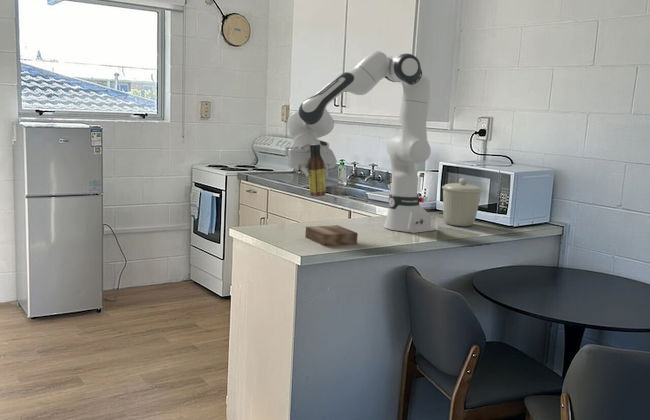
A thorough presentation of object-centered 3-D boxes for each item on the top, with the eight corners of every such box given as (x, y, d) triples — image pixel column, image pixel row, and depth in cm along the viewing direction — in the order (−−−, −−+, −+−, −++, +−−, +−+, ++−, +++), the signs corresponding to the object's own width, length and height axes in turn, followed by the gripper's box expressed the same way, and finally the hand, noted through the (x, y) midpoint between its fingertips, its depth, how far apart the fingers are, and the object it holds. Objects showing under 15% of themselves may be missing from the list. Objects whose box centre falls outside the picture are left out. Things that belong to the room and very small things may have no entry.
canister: (429, 221, 291) (434, 175, 287) (456, 219, 302) (461, 175, 298) (460, 229, 277) (465, 181, 273) (487, 227, 287) (492, 180, 284)
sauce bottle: (326, 193, 250) (325, 142, 246) (324, 196, 244) (323, 145, 240) (309, 193, 251) (308, 143, 247) (307, 196, 245) (306, 145, 241)
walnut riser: (337, 235, 247) (337, 225, 247) (356, 243, 236) (357, 233, 235) (305, 237, 240) (305, 226, 240) (323, 245, 229) (324, 234, 228)
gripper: (286, 141, 245) (296, 170, 238) (332, 142, 255) (343, 170, 248) (280, 152, 249) (290, 181, 243) (325, 152, 259) (336, 180, 253)
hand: (317, 175), depth 245 cm, fingers closed on sauce bottle, 6 cm apart
